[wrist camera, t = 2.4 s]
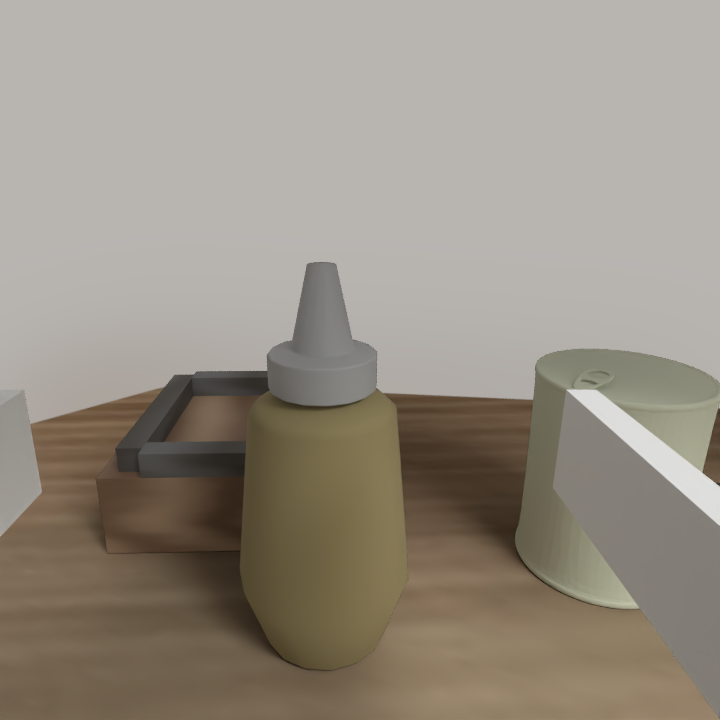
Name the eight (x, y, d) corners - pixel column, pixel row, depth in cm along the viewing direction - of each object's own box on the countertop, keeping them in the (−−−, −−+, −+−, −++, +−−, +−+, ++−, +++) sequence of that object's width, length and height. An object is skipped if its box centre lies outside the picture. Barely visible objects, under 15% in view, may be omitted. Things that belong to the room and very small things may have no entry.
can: (483, 542, 34) (500, 357, 31) (571, 495, 39) (595, 332, 36) (626, 638, 27) (670, 412, 24) (711, 565, 32) (759, 371, 29)
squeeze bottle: (436, 614, 29) (459, 262, 23) (336, 731, 22) (334, 291, 17) (319, 552, 33) (313, 247, 28) (209, 635, 27) (174, 265, 22)
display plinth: (364, 443, 47) (365, 370, 45) (376, 547, 34) (378, 451, 32) (172, 445, 46) (164, 371, 44) (107, 553, 33) (92, 455, 31)
